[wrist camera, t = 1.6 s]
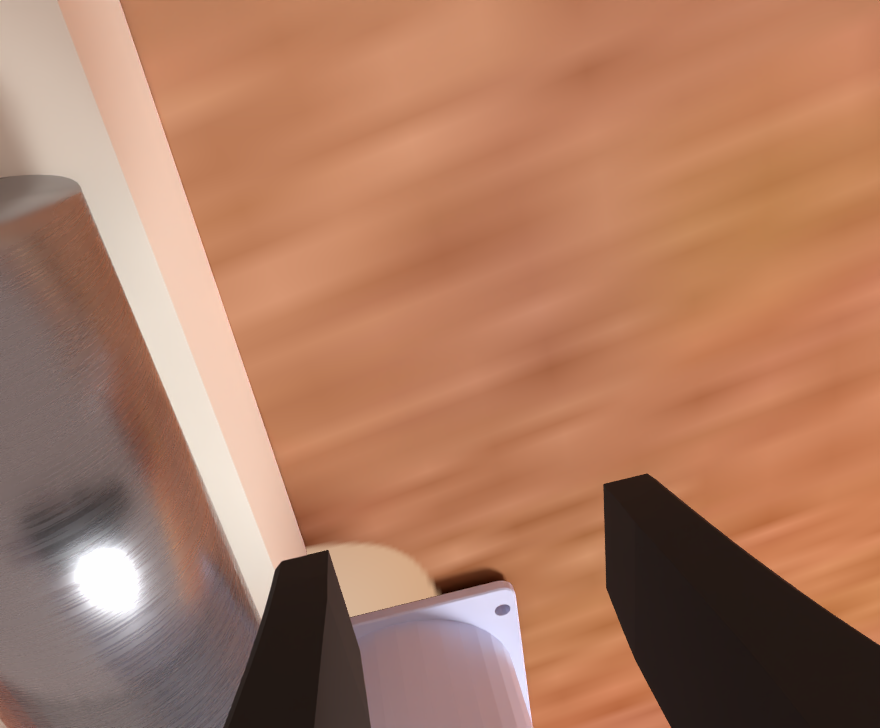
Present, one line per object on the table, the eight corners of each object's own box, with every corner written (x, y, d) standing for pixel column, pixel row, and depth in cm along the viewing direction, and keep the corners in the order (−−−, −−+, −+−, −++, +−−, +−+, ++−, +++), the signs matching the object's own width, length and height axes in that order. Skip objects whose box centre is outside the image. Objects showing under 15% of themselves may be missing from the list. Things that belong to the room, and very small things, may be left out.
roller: (158, 586, 17) (316, 636, 15) (-4, 765, 14) (173, 858, 12) (-53, 174, 12) (150, 175, 10) (-399, 306, 9) (-190, 343, 7)
